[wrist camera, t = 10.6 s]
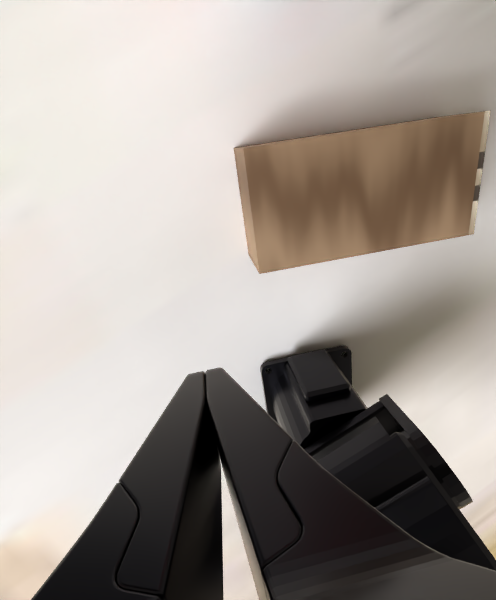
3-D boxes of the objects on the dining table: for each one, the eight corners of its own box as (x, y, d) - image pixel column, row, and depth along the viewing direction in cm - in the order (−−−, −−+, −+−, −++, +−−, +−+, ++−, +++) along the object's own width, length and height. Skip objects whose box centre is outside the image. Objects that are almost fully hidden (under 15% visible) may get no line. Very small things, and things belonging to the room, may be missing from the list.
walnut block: (473, 233, 19) (259, 273, 18) (432, 221, 22) (248, 255, 21) (490, 110, 17) (243, 147, 15) (441, 116, 20) (233, 148, 19)
